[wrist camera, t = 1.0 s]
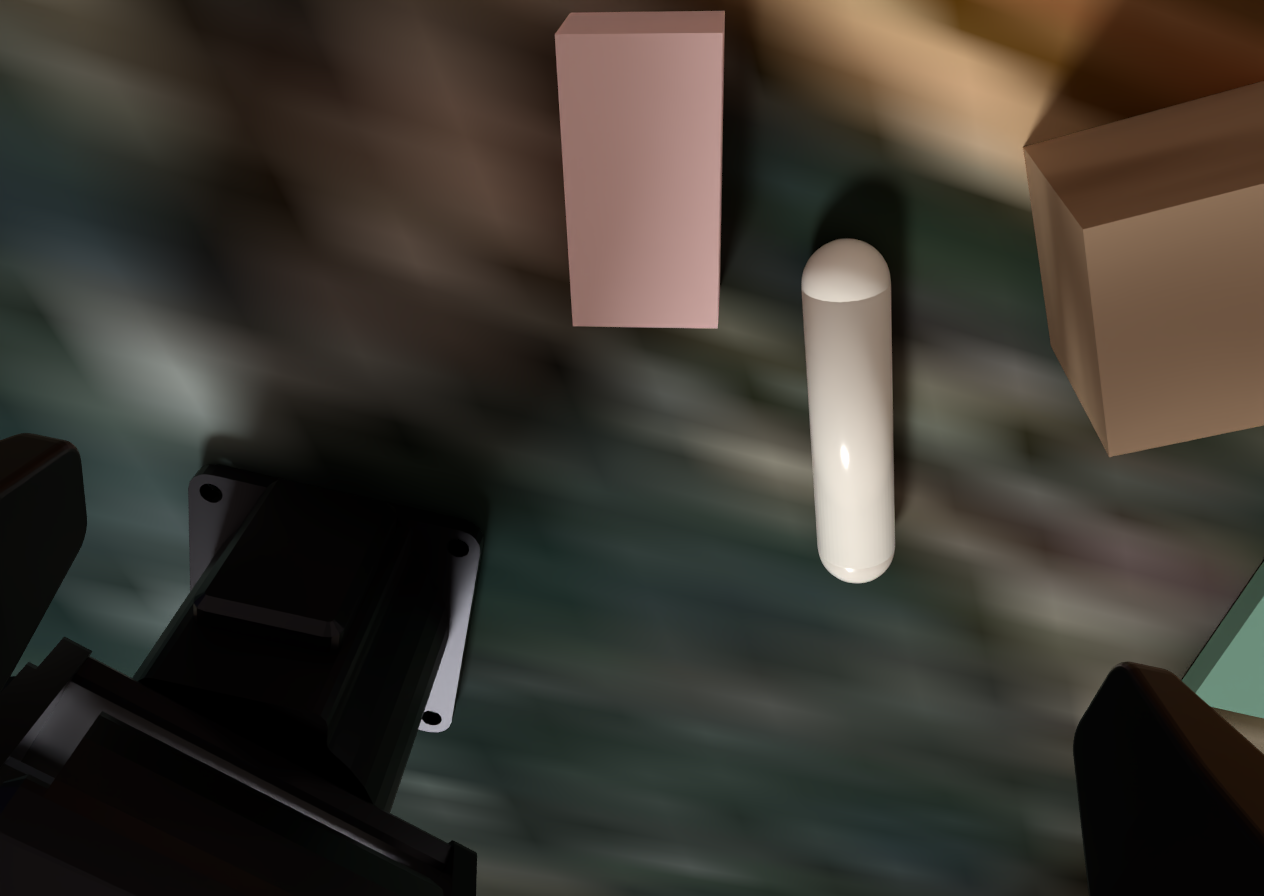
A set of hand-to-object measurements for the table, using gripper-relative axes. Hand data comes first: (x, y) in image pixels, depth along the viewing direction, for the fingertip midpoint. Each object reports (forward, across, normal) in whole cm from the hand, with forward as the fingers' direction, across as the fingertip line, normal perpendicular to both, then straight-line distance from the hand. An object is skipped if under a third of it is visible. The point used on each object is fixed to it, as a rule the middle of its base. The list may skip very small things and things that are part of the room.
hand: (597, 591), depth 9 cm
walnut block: (+12, -9, -1) cm, 15 cm away
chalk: (+12, -4, +4) cm, 14 cm away
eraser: (+12, 0, 0) cm, 12 cm away
